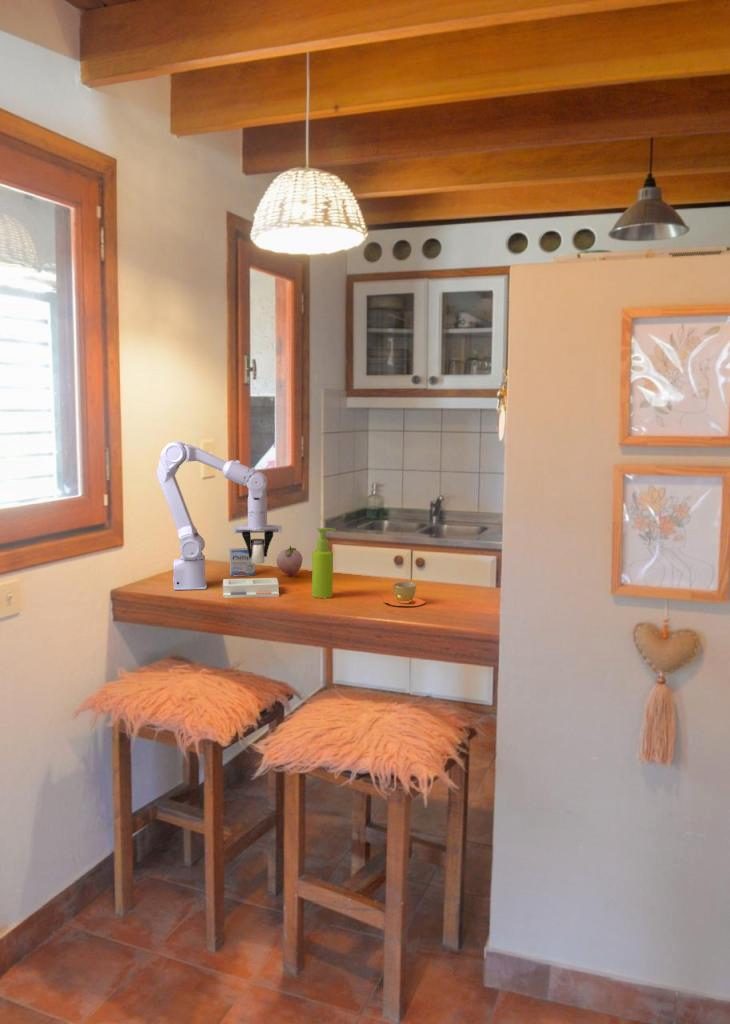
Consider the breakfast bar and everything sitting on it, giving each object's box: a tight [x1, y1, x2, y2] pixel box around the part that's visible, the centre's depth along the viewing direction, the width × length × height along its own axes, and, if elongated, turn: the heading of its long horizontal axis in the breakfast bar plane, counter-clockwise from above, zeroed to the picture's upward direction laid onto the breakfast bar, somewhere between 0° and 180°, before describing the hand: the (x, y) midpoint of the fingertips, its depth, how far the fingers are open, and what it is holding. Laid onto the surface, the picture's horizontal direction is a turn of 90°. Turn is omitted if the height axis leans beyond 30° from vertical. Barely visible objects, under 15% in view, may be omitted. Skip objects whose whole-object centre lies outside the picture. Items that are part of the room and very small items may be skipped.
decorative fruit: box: [276, 545, 303, 577], centre depth 253 cm, size 9×8×10 cm
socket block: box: [222, 577, 280, 599], centre depth 231 cm, size 16×12×3 cm
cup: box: [392, 581, 417, 601], centre depth 222 cm, size 12×12×5 cm
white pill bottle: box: [251, 538, 265, 565], centre depth 238 cm, size 4×4×7 cm
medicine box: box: [229, 547, 256, 577], centre depth 255 cm, size 8×4×9 cm, turn 104°
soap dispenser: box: [311, 527, 337, 599], centre depth 227 cm, size 6×7×20 cm
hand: (257, 556), depth 238 cm, fingers closed on white pill bottle, 4 cm apart
